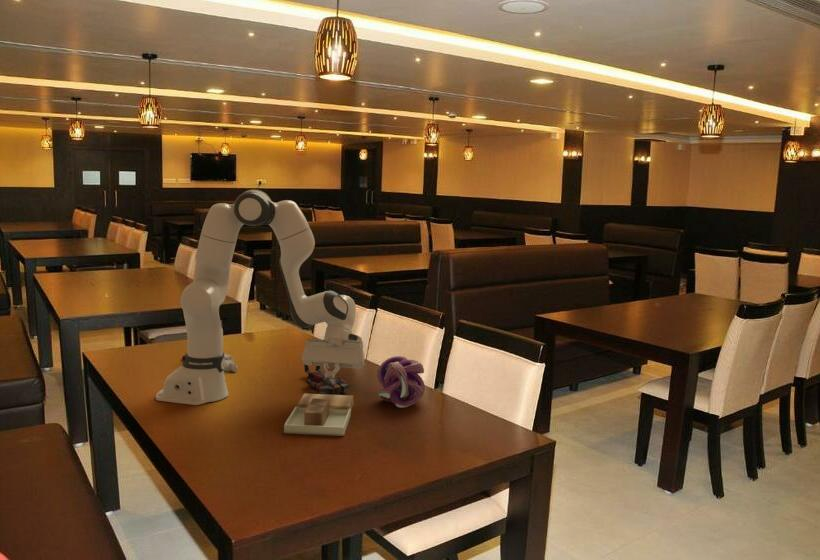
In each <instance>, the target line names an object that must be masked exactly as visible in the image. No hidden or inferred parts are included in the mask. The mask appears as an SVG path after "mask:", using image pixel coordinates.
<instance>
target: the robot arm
mask: <svg viewBox="0 0 820 560" xmlns="http://www.w3.org/2000/svg"><path fill="white" fill-rule="evenodd" d="M244 225H245V226H249V227H257V226H270V228H271V229H272V231H273V233H274V234H275V237H276V240H277V241H278V245H279V247H280V257H279V260H278V265H279V270H280V273H281V278H282V281H283V284H284V288H285V291H286V292H285V293H286V295H287V298H288V301H289V307H290V309H289V310H290V315H291V318H292V320H293V323H295V324H297V326H299V327H301V328H303V329H308V328H310V327H313V326H316V325H317V324H322V323H326V324H327V326H326V328H325V333H324V337H323V338H310V339H307V340H306V342H305V344H304V350H303V352H302V354H301V360H302V363H303V364H305V365H308V366H315V367H316V366H320V367H323V368H324V369H323V370H324V372H325V378H335V377H336V374H337V373H338V372H339V371H340V369H341V368H345V369H362V368H363V367H364V366H365V352H364V342H363V338H362V337H361V336H360V335H358V334H355V333H353V331H352V329H353V327H354V326H355V319H356V313H357V312H356V308H357V307H356V303H355V300H354V299H353V298H352V297H350V296H349V295H346V294H339V293H337V292H336V291H334V290H326V291H323V292H319V293H315V294H313V295H309V296H307V295H306V294H305V290H304V288H303V284H302V281H301V277H300V268H301V266H302V265H303V263H304V262H306V260H307V259H308V258H310V256H311V255H312V254H313V251H314V249H315V245H316V241H315V237H314V234H313V232H312V229H311V227H310V224H309V223H308V221H307V218H306V216H305V215H304V213H303V212H302V210H301V208H300V207H299V205H298V204H297V203H296V202H295V201H293V200H290V199H289V200H288V199H286V200H284V199H283V200H280V201H278V202H274V201H272V198H271V196H270V195H269V194H268V193H266V192H265V191H264V190H260V189H249V190H246V191H244V192H242V193H240V194H239V195H238V196H237V197H236V199H235V201H234V203H232V204H230V203H225V202H224V203H223V202H221V203H215V204H213V205H212V206H211V207H210V208H209V211H208V212H207V214H206V217H205V220H204V222H203V225H202V229H201V232H200V236H199V240H198V244H197V250H196V253H195V256H194V258H195V259H194V260H195V266H194V267H195V269H194V277H193V281H192V282H191V283H190V284H188V285H187V286H186V287H185V288H184V289H183V291H182V292H181V295H180V300H179V301H180V302H179V303H180V307H181V309H182V311H183V318H184V322H185V327H186V340H187V341H186V342H187V343H186V344H187V350H186V351H187V352H185V353H184V355H182V356H181V357H180V358H179V360H180V361H179V363H182V365H180V366H179V367H178V368H176V369H175V370H173V372H171V373H170V374H169V375H167V377H166V378H165V381H164V383H163V388H162V389H160V390H159V391H158V392H157V393H156V395H155V400H156V401H158V402H159V401H160V402H165V403H166V402H168V403H174V404H182V405H184V404H185V405H189V406H199V405H203V404H206V403H210V402H218V401H220V400H223V399H225V398H227V397H228V396H229V390H228V387H227V384H226V377H225V371H224V369H225V357H224V353H225V352H224V330H223V327H222V323H221V318H220V306H221V305H222V304H223V303H224V301H225V300H226V296H227V292H228V287H229V280H230V273H231V272H230V271H231V265H232V261H233V257H234V252H235V248H236V245H237V240H238V236H239V232H240V230H241V228H242V227H243V226H244ZM330 367H331V368H333V367H334V369H332V370H333V371H327V370H330ZM335 379H336V378H335Z"/></svg>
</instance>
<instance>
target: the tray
mask: <svg viewBox="0 0 820 560" xmlns="http://www.w3.org/2000/svg"><path fill="white" fill-rule="evenodd" d="M306 409H307V408H300V407H298V405H297V406H294V408H293V410H292V411H291V413H290V415H289V416H288V418H287V419H286V421H285V423H284V425H283V434H292V435H295V434H296V435H311V436H312V435H313V436H333V437H335V436H338V437H344V436H345V435H346V434H345V433H346V431H347V427H348V425H349V423H350V420H351V415H352V410H351V409H349V410H344V409H329V416H328V418H327V420H326V422H325V424H324V426H313V425H304V412H305V411H306Z"/></svg>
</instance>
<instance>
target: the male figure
mask: <svg viewBox="0 0 820 560" xmlns="http://www.w3.org/2000/svg"><path fill="white" fill-rule="evenodd" d="M224 357H225V369H224V372H233V373H235V372H237V370H238V368H239V367H238V365H237V363H235V362H234V359H233V357H232V355H230V354H227V353H226V352H224Z"/></svg>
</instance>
